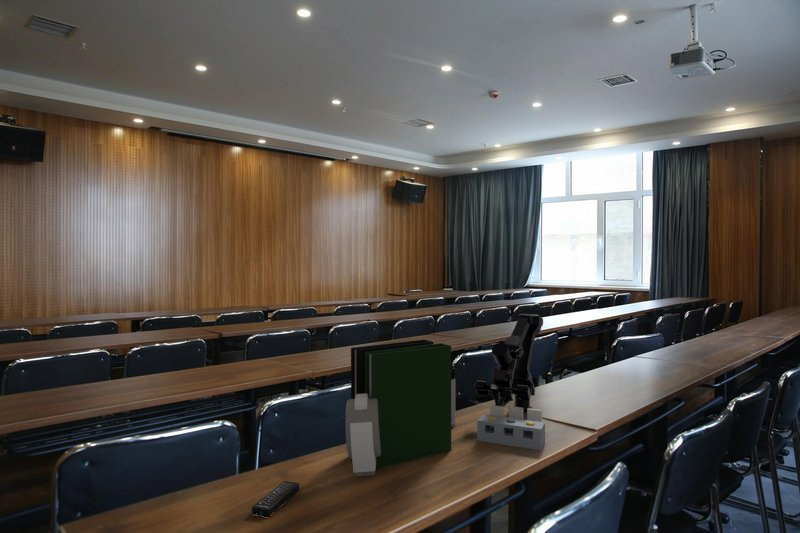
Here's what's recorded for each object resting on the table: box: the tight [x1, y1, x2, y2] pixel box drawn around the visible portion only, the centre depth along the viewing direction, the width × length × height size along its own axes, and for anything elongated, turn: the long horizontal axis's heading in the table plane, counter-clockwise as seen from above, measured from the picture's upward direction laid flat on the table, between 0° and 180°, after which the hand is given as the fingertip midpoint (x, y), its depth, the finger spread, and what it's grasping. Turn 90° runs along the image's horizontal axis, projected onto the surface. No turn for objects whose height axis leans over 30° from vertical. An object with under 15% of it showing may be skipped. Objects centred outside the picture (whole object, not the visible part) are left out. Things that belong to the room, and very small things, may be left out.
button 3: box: [526, 408, 543, 434], centre depth 159 cm, size 8×4×6 cm, turn 154°
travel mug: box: [451, 367, 457, 428], centre depth 174 cm, size 6×7×20 cm
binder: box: [350, 339, 452, 470], centre depth 150 cm, size 27×15×32 cm, turn 122°
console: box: [476, 414, 546, 451], centre depth 158 cm, size 7×20×7 cm, turn 64°
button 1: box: [489, 404, 505, 430], centre depth 163 cm, size 8×4×6 cm, turn 154°
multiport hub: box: [251, 480, 300, 518], centre depth 119 cm, size 4×14×2 cm, turn 162°
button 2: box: [508, 405, 524, 431], centre depth 162 cm, size 8×4×6 cm, turn 154°
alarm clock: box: [345, 393, 381, 478], centre depth 138 cm, size 18×8×20 cm, turn 1°
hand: (497, 412), depth 167 cm, fingers closed, pressing on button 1
